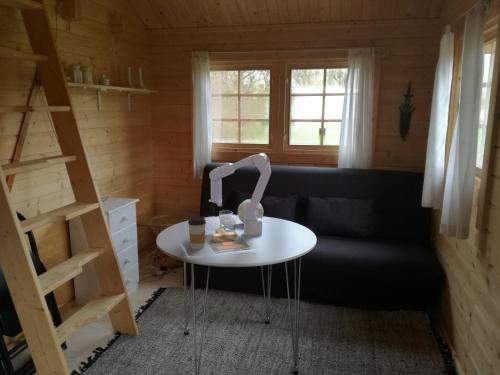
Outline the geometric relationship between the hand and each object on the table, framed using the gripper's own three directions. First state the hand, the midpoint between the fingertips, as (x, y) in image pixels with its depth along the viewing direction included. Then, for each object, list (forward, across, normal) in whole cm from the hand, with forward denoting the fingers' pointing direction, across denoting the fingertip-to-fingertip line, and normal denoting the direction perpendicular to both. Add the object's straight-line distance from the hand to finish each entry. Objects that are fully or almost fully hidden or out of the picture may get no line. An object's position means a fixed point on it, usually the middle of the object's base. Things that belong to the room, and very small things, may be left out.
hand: (216, 216), depth 214 cm
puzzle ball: (+10, -10, +23) cm, 27 cm away
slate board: (+9, +17, 0) cm, 19 cm away
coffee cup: (+10, +22, -15) cm, 28 cm away
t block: (+8, +11, 0) cm, 14 cm away
